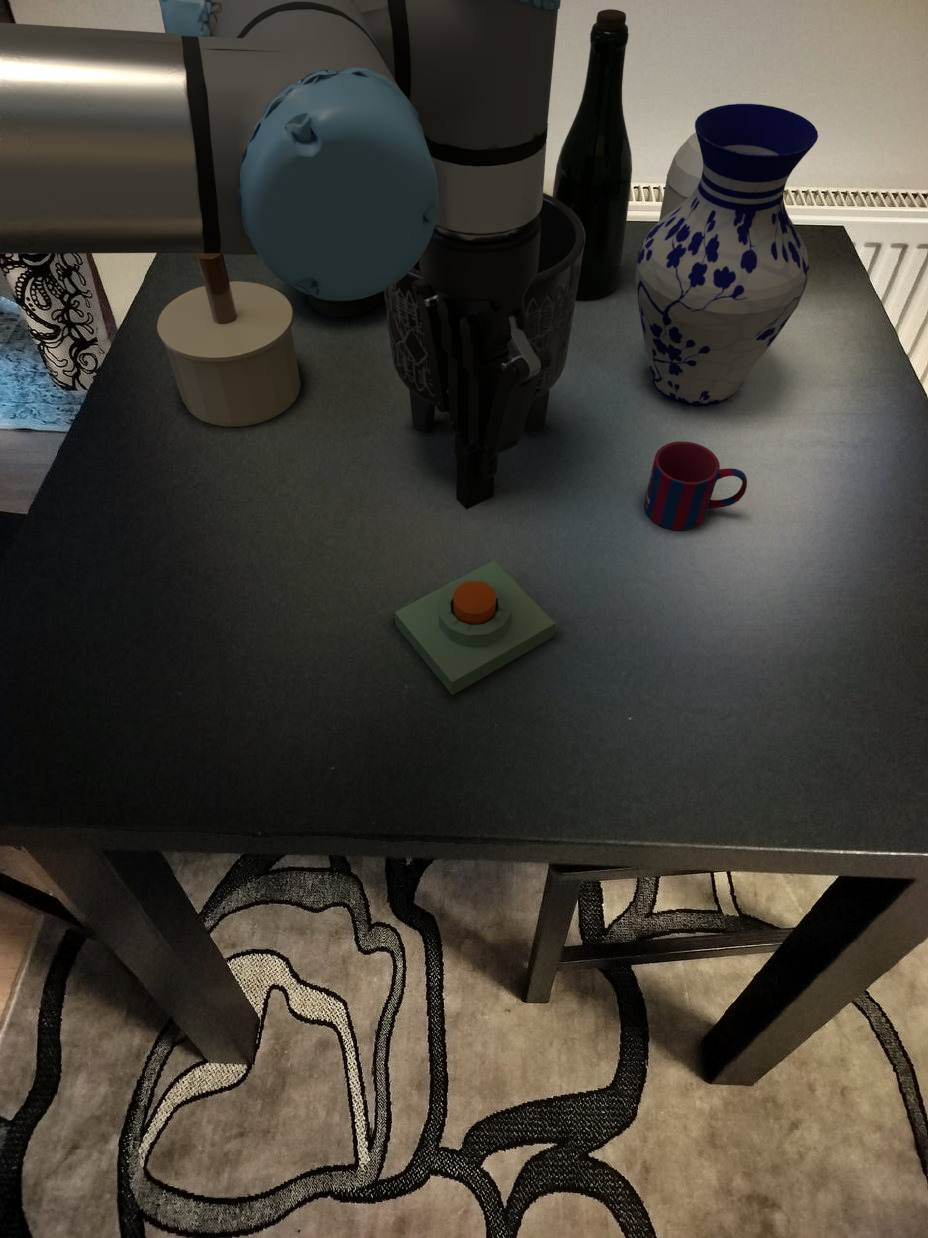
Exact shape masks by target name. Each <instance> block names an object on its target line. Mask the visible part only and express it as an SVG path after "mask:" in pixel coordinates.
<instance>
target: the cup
mask: <svg viewBox="0 0 928 1238" xmlns="http://www.w3.org/2000/svg"><path fill="white" fill-rule="evenodd" d="M720 467H721V466H720V461H719V458H718V457H717V456H716V454H715V453H714V452H713V451H712V450H711V449H709V448H708V447H705V446H704V445H701V444H699V443H695V442H691V441H673V442H669V443H667V444H665V445H663V446H661V447H660V448H659V449H658V450H657V451H656V453H655V455H654V460H653V464H652V468H651V472H650V478H649V481H648V486H647V490H646V494H645V499H644V504H643V507H644V511H645V513H646V515H647V517H648V518H649V519H650V520H651V521H652V522H653V523H654V524H656V525H657V526H659V527H662V528H664V529H667V530H672V531H687V530H690V529H693V528H696V527H697V526H699V525H700V524H701V523H702V522H703V521H704V520H705V517H706V515H707V512H708V510H712V509H713V510H715V509H721V508H726V507H729V506H732V505H734V504H736V503H738V502H739V501H740V500H741V499H742V498H743V497H744V495H745V493H746V491H747V487H748V478H747V476H746V473H745V472H744V471H742V470H741V469H738V468H730V467H729V468H720ZM726 477H736V478H738V479H740V480H741V486H740V488H739V490H738V491H737V492H736V493H735V494H733V495H732V496H729V497H727V498H722V499H711V498H712V496H713V492H714V490H715V486H716V483H717V482H718V480H721V479H723V478H726Z"/></svg>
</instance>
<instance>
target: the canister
mask: <svg viewBox="0 0 928 1238" xmlns="http://www.w3.org/2000/svg"><path fill="white" fill-rule="evenodd" d="M293 337H294V336H293V332H292V327H291V328H290V330H289V331H288V333H287V334H286V335H285V336H284V338H283V339H281V340H280V341H279V342H278V343H277V344H275V345H274V346H272V347H271V348H269V349H267V350H265V351H263V352H261V353H258V354H256V355H253V356H250V357H246V358H242V359H238V360H232V361H223V362H206V361H198V360H192V359H188V358H185V357H182V356H180V355H178V354H176V353H174V352H172V351H171V350H169V349H168V348H167V347H166V346H165V345H164V348H165V350H166V353H167V358H168V359H169V360H168V361H169V362H170V366H171V369H172V372H173V373H172V374H173V375H174V378H175V383H176V385H177V388H178V391H179V395H180V398H181V401H182V402H183V403H184V406H185V408H186V409H187V410H188V412H189V413H190V414H191V415H192V416H193V417H195V418H196V419H198V420H200V421H201V422H204V423H207V424H210V425H214V426H220V427H227V428H228V427H229V428H231V427H233V428H234V427H235V428H237V427H247V426H248V427H249V426H253V425H257V424H261V423H264V422H266V421H269V420H271V419H273V418H276V417H277V416H280V415H281V414H282V413H284V412H285V411H286V410H288V409H289V408H290V407H291V406H292V405H294V403H295V401H296V400H297V398H298V396H299V394H300V392H301V385H302V384H301V378H300V372H299V366H298V360H297V353H296V349H295V344H294V343H295V342H294V338H293Z"/></svg>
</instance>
